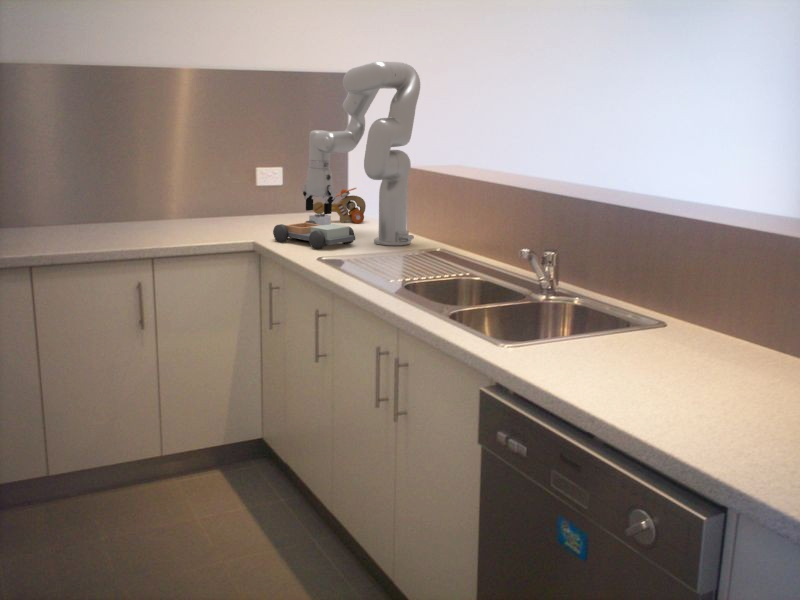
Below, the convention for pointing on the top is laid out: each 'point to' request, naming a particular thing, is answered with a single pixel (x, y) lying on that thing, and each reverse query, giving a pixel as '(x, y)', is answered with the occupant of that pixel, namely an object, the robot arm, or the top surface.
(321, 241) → the chassis
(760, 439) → the top surface
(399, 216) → the robot arm
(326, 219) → the engine block
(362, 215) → the toy helicopter
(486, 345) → the top surface
